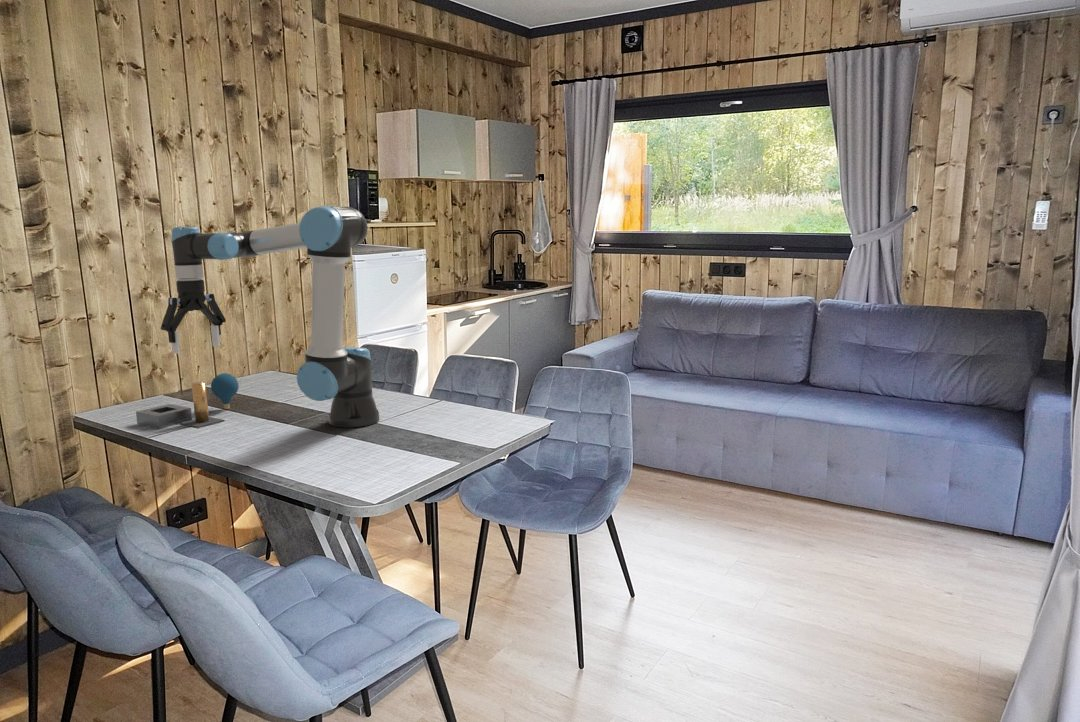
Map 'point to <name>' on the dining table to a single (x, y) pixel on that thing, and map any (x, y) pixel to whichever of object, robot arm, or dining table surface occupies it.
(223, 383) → the light bulb
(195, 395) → the golden cylinder
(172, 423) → the block
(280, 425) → the dining table surface
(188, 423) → the mat
